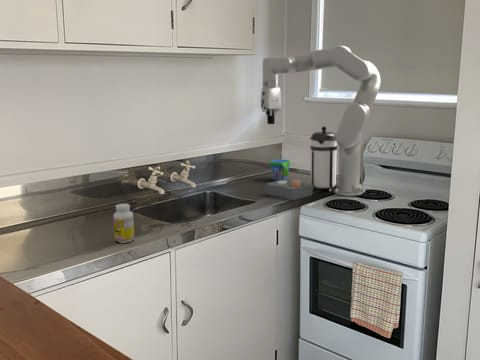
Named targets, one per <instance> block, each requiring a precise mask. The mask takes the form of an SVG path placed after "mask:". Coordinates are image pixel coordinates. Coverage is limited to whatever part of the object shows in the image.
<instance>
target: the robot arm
mask: <svg viewBox="0 0 480 360" xmlns="http://www.w3.org/2000/svg"><path fill="white" fill-rule="evenodd" d="M330 68H337V69H339V70H340V71H341V72H343V73H344V74H345V75H347V76H348V77H350V78H352V79H353V80H354V81H358V82H360V84H359V86H358V90H357V92H356V95H355V97H354V99H353V101H352V104H350V105H348V106H347V107H346V109H345V111H344V112H343V115H342V118H341V120H340V123H339V126H338V128H337V130H336V133H335V134H336V137H335V138H336V142H337V146H339V149H338V176H337V177H338V179H337V180H338V181H337V182H338V183H337V184H338V185H337V188H336V189H335V190H334V193H335V194H336V195H338V196H339V195H340V196H347V197H354V196H355V197H356V196H361V195H362V194H363V193H365V192H366V190H367V187H362V183H360V175H361V174H360V173H361V172H360V170H361V149H362V141H363V140H362V139H363V138H362V135H363V134H362V129H363V127H364V124H365V123H366V122H367V120H368V119H369V117H370V115H371V114H370V113H371V111H372V108H373V106H374V103H375V101H376V98H377V95H378V93H379V90H380V87H381V76H380V72H379V71H378V69H377V67H376V66H375V65H374V64H373V63H372V62H371V61H368V60H363V59H362V58H360V57H359V56H357V55H356V54H354V53H353V52H352V51H351V49H350V47H349V46H348V47H347V46H346V45H335V46H334V47H328V48H323V49H317V50H313V51H311V52H310V53H309V52H308V53H306V54H301V55H295V56H281V57H264V58H263V59H262V83H261V85H262V88H261V94H260V107H261V111H262V112H263V113H265V115H266V116H267V117H266V119H267V122H266V123H267V125H274V124H275V118H276V117H275V116H276V115H277V112H278V111H280V109H281V108H282V107H283V103H282V102H283V101H282V99H283V98H282V91H281V88H280V80H279V79H280V78H279V77H280V74H283V75H286V74H294V73H301V72H307V71H318V70H323V69H330Z"/></svg>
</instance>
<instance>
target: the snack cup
mask: <svg viewBox="0 0 480 360" xmlns="http://www.w3.org/2000/svg"><path fill="white" fill-rule="evenodd" d="M269 165H270V169H271V177H272V180H273V181H274V182H275V181H280V180H284V179H286V180H288V178H289V170H290V165H291V160H290V159H284V158H283V159H282V158H281V159H279V158H277V159H272V160H269Z"/></svg>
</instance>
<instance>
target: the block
mask: <svg viewBox="0 0 480 360" xmlns="http://www.w3.org/2000/svg"><path fill="white" fill-rule="evenodd" d="M291 180H292V179H287V180H286V179H284V180H280V181H287V184H283V185H282V184H277V182H278V181H275V180H274V181H272V182H268V183H265V195H267V194H268V195H269V196H272V195H274V196H273V197H276V196H279V197H278V198H281V197H284V198H283V199H285V198H288V199H287V200H290V199H291V200H290V201H297V200H300V199H305V198H306V197H307V198H308V197H311V196H313V191H312V188H313V185H312V184H311V183H307V182H306V183H305V182H302V181H301V186H300V187H292V186H291ZM268 195H267V196H268Z"/></svg>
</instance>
